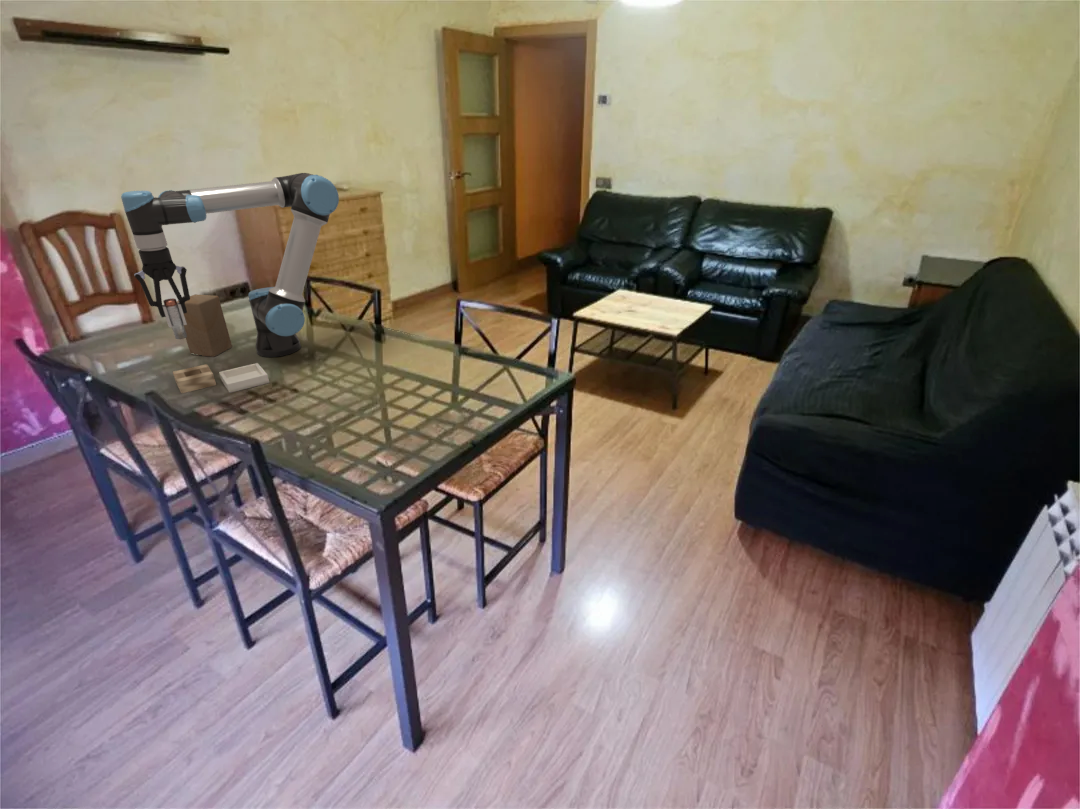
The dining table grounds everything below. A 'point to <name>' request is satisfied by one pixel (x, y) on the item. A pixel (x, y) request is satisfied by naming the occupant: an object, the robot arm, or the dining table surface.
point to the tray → (243, 377)
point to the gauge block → (194, 378)
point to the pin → (175, 318)
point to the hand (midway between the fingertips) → (177, 324)
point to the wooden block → (206, 326)
